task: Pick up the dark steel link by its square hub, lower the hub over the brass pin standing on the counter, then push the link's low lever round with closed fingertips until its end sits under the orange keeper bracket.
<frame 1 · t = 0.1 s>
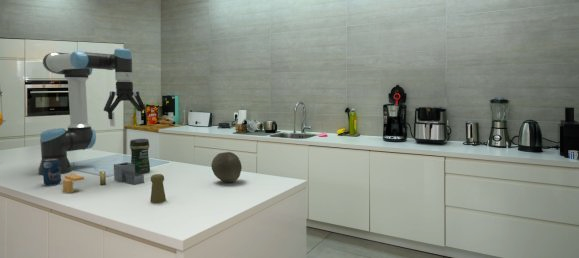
hand: (126, 125, 177), 28 cm above the counter, tool pointing down, fingers open, 13 cm apart
pin: (103, 184, 173), on the counter
coffee jar: (140, 172, 198), on the counter
link: (139, 183, 174), on the counter
soda can: (52, 184, 173), on the counter
cork: (158, 201, 148), on the counter
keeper: (68, 191, 160), on the counter
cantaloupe: (227, 182, 178), on the counter
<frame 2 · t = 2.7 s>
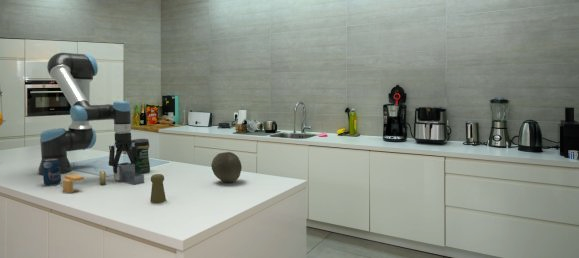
hand: (124, 177, 182), 1 cm above the counter, tool pointing down, fingers closed on link, 7 cm apart
link: (139, 183, 174), on the counter, touching gripper
everything else where it was.
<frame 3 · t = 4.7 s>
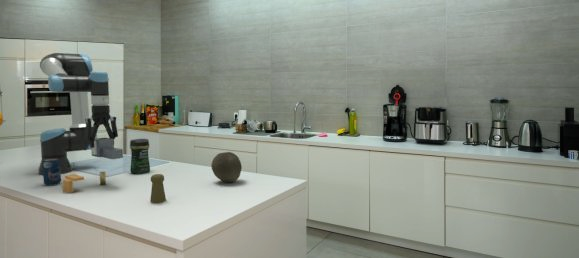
hand: (102, 153, 172), 15 cm above the counter, tool pointing down, fingers closed on link, 7 cm apart
link: (117, 158, 165), point 14 cm above the counter, touching gripper
everything else where it was.
when the fingers open (2 cm above the counter, at t = 7.1 s): link stays where it is, on the counter.
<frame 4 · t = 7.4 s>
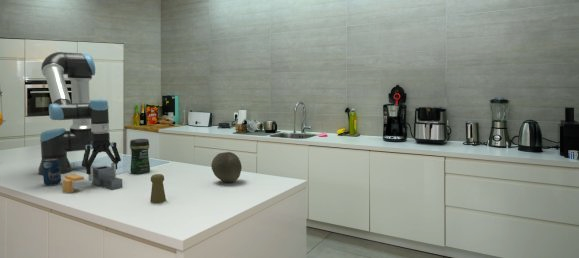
hand: (102, 178, 173), 3 cm above the counter, tool pointing down, fingers open, 10 cm apart
link: (117, 188, 166), on the counter
everything else where it was.
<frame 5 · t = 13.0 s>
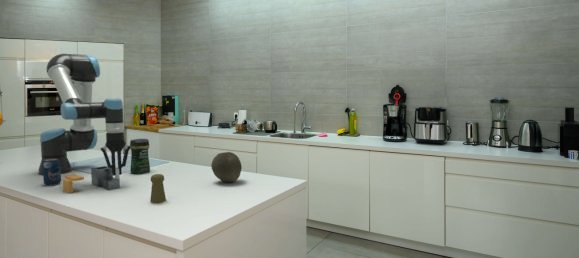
hand: (117, 181, 170), 2 cm above the counter, tool pointing down, fingers closed
link: (114, 189, 164), on the counter, touching gripper
everything else where it was.
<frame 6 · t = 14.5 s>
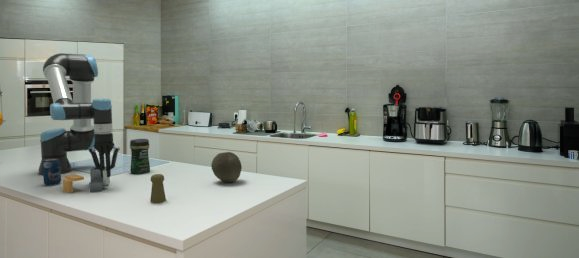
hand: (106, 184, 166), 2 cm above the counter, tool pointing down, fingers closed
link: (96, 191, 160), on the counter, touching gripper, pin
everything else where it was.
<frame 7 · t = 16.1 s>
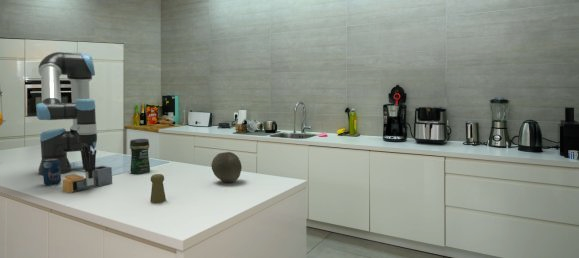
hand: (89, 185, 165), 2 cm above the counter, tool pointing down, fingers closed
link: (74, 190, 162), on the counter, touching gripper
everything else where it was.
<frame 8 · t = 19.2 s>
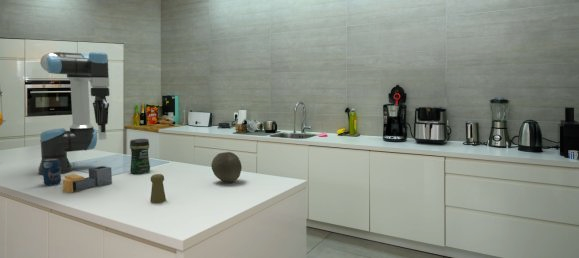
hand: (102, 139, 166), 22 cm above the counter, tool pointing down, fingers closed
link: (73, 190, 162), on the counter
everything else where it was.
at the end: link inside the target area (1.1 cm from its centre), on the counter; link on the counter; link tilted 0° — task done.
